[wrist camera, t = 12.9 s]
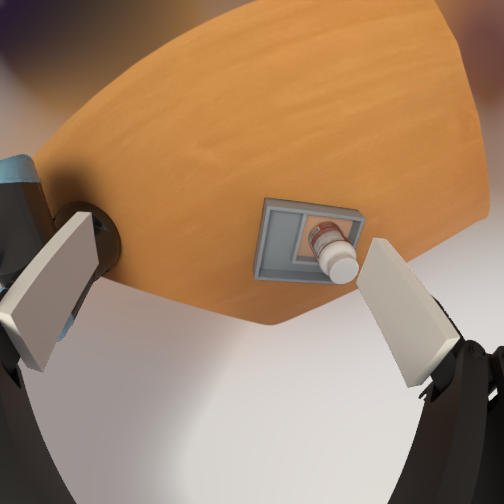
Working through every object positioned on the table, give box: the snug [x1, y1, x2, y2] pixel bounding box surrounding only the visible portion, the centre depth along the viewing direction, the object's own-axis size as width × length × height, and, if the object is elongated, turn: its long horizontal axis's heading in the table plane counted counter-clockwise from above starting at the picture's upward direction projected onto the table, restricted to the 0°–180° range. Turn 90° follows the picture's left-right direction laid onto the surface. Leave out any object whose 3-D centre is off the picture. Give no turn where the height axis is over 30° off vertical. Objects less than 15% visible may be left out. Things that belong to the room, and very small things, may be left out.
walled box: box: [253, 198, 365, 284], centre depth 49 cm, size 17×14×4 cm
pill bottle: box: [308, 221, 359, 284], centre depth 44 cm, size 6×6×11 cm
